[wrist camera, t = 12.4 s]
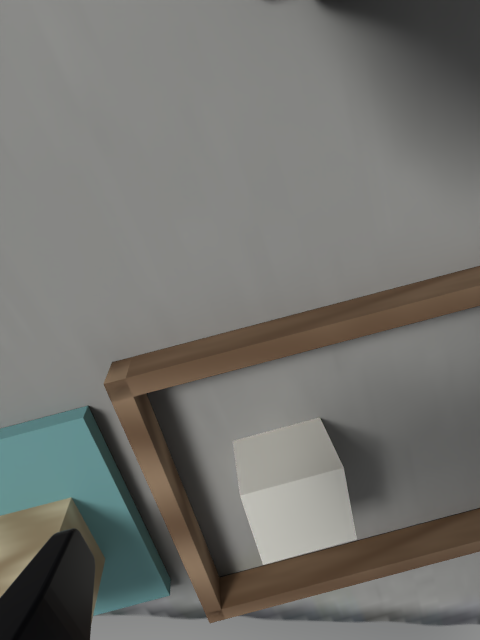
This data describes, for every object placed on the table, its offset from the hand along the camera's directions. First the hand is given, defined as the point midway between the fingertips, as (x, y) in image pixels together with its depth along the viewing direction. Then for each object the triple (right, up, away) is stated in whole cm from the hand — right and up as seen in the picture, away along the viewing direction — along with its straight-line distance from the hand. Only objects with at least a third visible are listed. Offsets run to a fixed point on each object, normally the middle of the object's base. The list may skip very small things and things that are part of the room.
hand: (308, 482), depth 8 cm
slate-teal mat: (-12, -9, +15) cm, 21 cm away
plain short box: (+1, -5, +16) cm, 16 cm away
